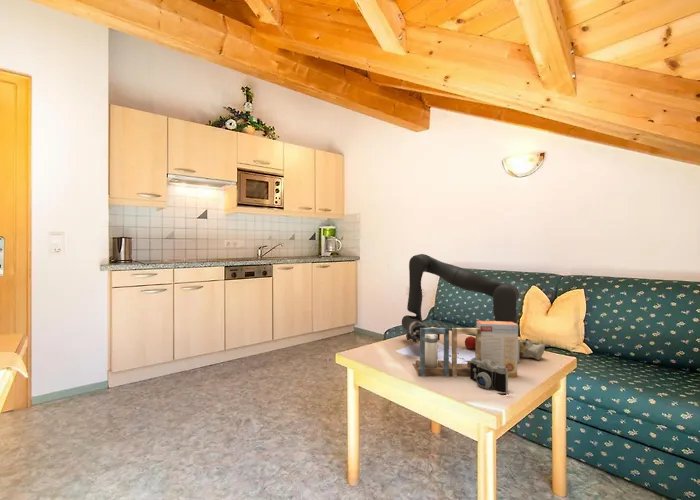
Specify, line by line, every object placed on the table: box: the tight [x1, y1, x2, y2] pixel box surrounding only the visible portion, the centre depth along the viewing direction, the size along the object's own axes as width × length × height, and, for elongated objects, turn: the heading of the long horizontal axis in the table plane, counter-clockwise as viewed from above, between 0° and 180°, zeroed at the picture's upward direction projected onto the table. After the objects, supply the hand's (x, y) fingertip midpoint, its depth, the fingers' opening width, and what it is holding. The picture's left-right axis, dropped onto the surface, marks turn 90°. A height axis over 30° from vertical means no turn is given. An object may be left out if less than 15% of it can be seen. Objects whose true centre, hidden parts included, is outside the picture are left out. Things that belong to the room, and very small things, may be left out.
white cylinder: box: [425, 334, 439, 368], centre depth 134 cm, size 5×5×14 cm
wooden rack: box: [412, 327, 481, 378], centre depth 135 cm, size 24×14×19 cm, turn 90°
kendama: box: [464, 335, 476, 350], centre depth 165 cm, size 8×6×18 cm
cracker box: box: [476, 320, 519, 378], centre depth 131 cm, size 14×6×21 cm, turn 85°
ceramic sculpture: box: [519, 338, 546, 361], centre depth 153 cm, size 11×9×15 cm
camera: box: [469, 357, 509, 396], centre depth 120 cm, size 15×7×10 cm, turn 30°
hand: (425, 340), depth 144 cm, fingers open, 8 cm apart
